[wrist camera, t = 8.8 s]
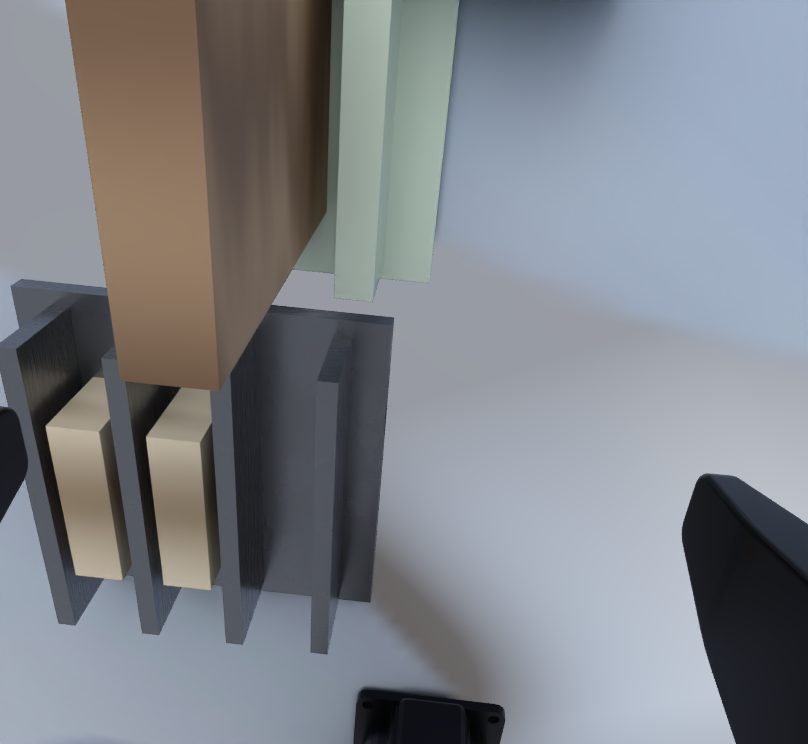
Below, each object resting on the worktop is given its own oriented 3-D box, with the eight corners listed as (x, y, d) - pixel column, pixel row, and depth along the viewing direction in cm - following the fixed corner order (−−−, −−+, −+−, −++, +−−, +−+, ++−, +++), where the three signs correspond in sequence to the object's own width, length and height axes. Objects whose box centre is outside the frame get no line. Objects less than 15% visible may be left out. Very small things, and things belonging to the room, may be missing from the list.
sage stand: (430, 275, 21) (425, 325, 18) (171, 249, 21) (120, 294, 18) (478, -178, 16) (483, -223, 12) (132, -207, 16) (50, -259, 13)
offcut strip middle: (236, 529, 26) (211, 590, 23) (194, 525, 26) (163, 584, 23) (229, 391, 23) (199, 442, 20) (182, 386, 23) (145, 437, 20)
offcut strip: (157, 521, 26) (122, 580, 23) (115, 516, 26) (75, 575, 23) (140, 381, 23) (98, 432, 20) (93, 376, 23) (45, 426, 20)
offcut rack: (371, 590, 27) (360, 667, 24) (76, 557, 28) (28, 629, 25) (393, 317, 22) (383, 371, 19) (21, 279, 22) (-53, 325, 19)
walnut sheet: (326, 211, 20) (219, 391, 11) (271, 205, 20) (120, 380, 11) (335, -134, 16) (176, -283, 7) (265, -140, 16) (22, -295, 7)
